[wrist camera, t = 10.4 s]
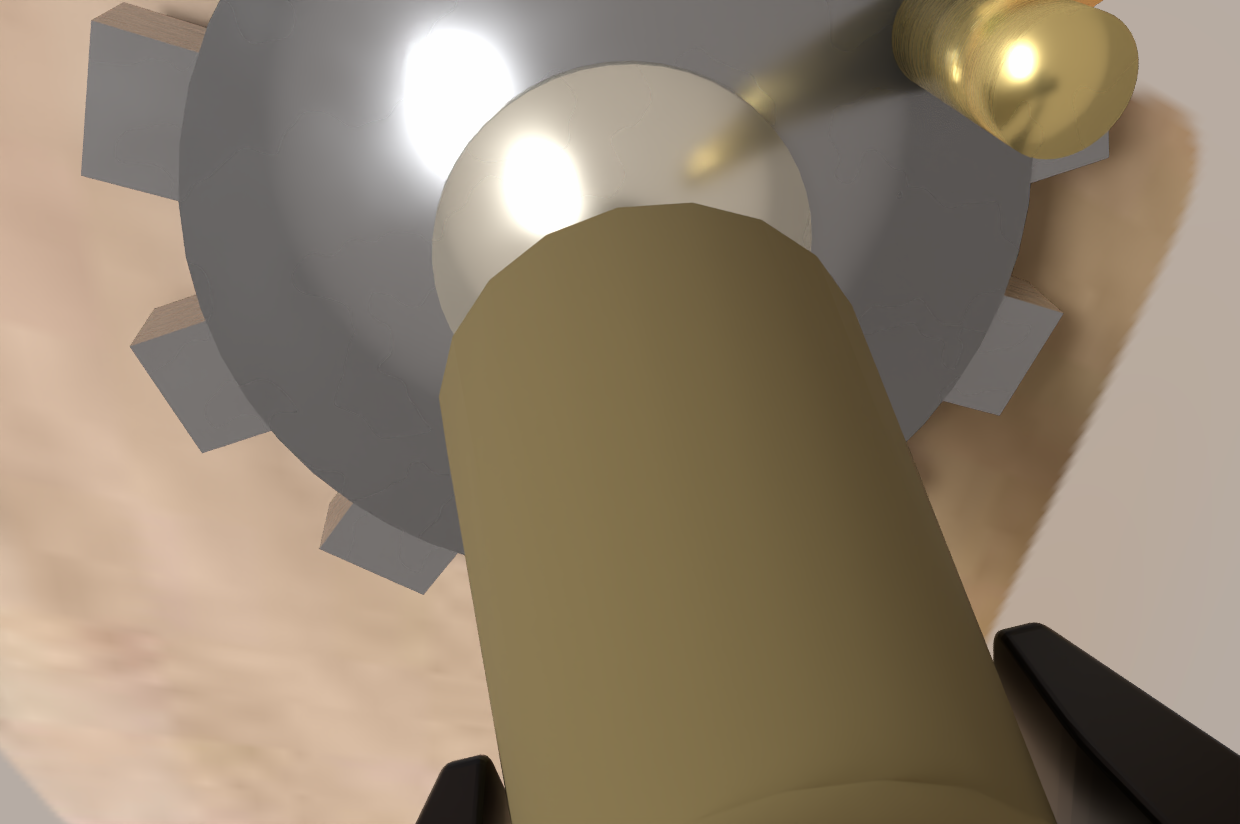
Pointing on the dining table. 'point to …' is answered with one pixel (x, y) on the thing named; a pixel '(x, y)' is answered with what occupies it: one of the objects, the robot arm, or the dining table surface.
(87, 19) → the dining table surface
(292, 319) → the sprocket
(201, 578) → the dining table surface
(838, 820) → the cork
